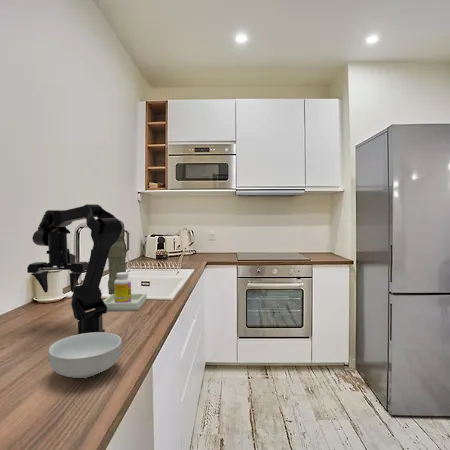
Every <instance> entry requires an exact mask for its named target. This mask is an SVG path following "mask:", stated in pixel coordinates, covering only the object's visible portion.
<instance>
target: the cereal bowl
mask: <svg viewBox="0 0 450 450" xmlns="http://www.w3.org/2000/svg"><path fill="white" fill-rule="evenodd" d="M122 340H123V339H122V338H121V337H120V336H119V335H118V334H116V333H111V332H106V331H104V332H93V333H83V334H78V333H77V334H73V335H70V336H67V337H64V338H61V339H59V340H57V341H56V342H54V343H53V344H51V345H50V346H49V349H48V362H49V365H50V368H52V369H51V370H53V371H54V372H55V373H57V374H58V375H60V376H63V377H67V378H72V379H75V378H85V377H89V376H92V375H95V374H98V373H99V374H101V373H103V372H104V371H106V370H108V369H109V368H111V367H112V366H114V365H115V364H116V362H117V361H118V360H119V358H120V356H121V353H122V347H123V341H122ZM100 372H101V373H100ZM99 374H98V375H99ZM85 379H86V378H85Z"/></svg>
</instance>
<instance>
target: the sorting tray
mask: <svg viewBox="0 0 450 450" xmlns="http://www.w3.org/2000/svg"><path fill="white" fill-rule="evenodd" d="M146 300H148V299H147V293H131V303H115V294H112V295H109V296H108V297H107V298H105V299H103V302H104V303H105V305H106V306H107V312H115V311H116V312H130V311H131V312H136V311H139V309H140V308H141V307H142V306H143V305H144V304H145V303H146V302H147V301H146Z"/></svg>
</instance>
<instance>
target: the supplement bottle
mask: <svg viewBox="0 0 450 450" xmlns="http://www.w3.org/2000/svg"><path fill="white" fill-rule="evenodd" d="M114 290H115V303H131V294H132V281H131V279H130V278H129V272H127V271H126V272H121V273H117V279H116V280H115V281H114Z"/></svg>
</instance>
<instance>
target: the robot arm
mask: <svg viewBox="0 0 450 450" xmlns="http://www.w3.org/2000/svg"><path fill="white" fill-rule="evenodd" d="M80 220H86V221H85V222H86V226H87V228H88V229H89V230H90V231H91V232H90V237H91V240H92V242H93V244H92V249H91V253H90V256H89V261H76V258H77V257H76V255H75V254H72V253H70V249H69V248H68V236H67V235H68V234H71V231H70V230H69V229H68V228H67V227H68V226H70V225H72V224H73V222H76V221H80ZM120 221H121V220H120V219H118V218H117V217H116V216H115V215H114V214H112V213H110V212H109V211H107V210H105V209H104V208H103V207H102V206H101V205H100V204H91V203H90V204H85V205H81V206H78V207H74V208H68V209H65V210H64V209H49V210H48V209H47V210H46V211H44V214H43V216H42V218H41V221H40V223H39V225H38V227H37V230H36V231H35V232H34V233H33V234H32V238H31V239H32V242H33V243H34V244H35V245H37V246H42V247H48V250H46V254H47V255H48V262H47V261H44V262H43V261H40V262H39V261H37V262H32V263H29V264H28V266H27V267H26V269H27V274H30V275H31V276H34V278H35V279H36V280H37V281H38V284H39V285H40V287H41V289H42V290H43V292H44V293H48V291H49V284H48V274H49V271H59V270H60V271H62V270H63V271H67V270H69V271H71V273H69V282H70V285H69V286H70V291H71V293H72V295H71V304H70V305H71V310H72V313H73V318H74V319H75V320H76V321H77V335H78V334H83V333H93V332H106V329H104V325H103V324H104V323H103V322H104V321H103V320H104V319H103V315H104V314H107V312H108V311H107V306H106V305H105V303H104V302H103V301H104V299H103V297H102V295H103V293H102V291H101V288H100V285H101V281H102V279H103V273H104V270H105V267H106V264H107V261H108V254H109V251H110V248H111V246H112V245H113V244H114V243H115V242H116V241H117V240H118V238H119V236H120V234H121V232H122V225H121V223H120ZM84 273H85V275H84V278H83V282H82V284H80V285H78V284H77V283H78V282H79V278H80V277H81V275H82V274H84ZM93 309H94V310H93Z"/></svg>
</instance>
